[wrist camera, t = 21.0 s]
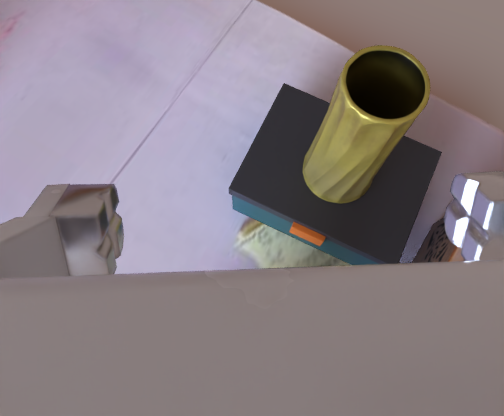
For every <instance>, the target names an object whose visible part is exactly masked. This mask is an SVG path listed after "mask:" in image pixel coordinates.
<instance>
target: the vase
mask: <svg viewBox="0 0 504 416" xmlns="http://www.w3.org/2000/svg"><path fill="white" fill-rule="evenodd" d="M429 95H430V79H429V76H428V74H427V71H426V70H425V68H424V66H423V65H422V64H421V63H420V61H418V60H417V59H416V58H415V57H414V56H413V55H412V54H410V53H409V52H407V51H405V50H403V49H400V48H397V47H392V46H382V45H378V46H371V47H367V48H364V49H361V50H359V51H358V52H357V53H355V54H354V55H353V56H352V57H351V58H350V59H349V60H348V61H347V63H346V64H345V66H344V68H343V71H342V72H341V74H340V76H339V79H338V82H337V85H336V88H335V91H334V94H333V97H332V100H331V103H330V105H329V108H328V111H327V113H326V115H325V117H324V120H323V122H322V124H321V126H320V128H319V130H318V132H317V134H316V136H315V138H314V140H313V142H312V144H311V146H310V148H309V150H308V152H307V153H306V155H305V158H304V163H303V176H304V179H305V182H306V184H307V186H308V187H309V188H310V190H311V191H312V192H313V193H314V194H315V195H317V196H318V197H319V198H321V199H323V200H325V201H328V202H333V203H340V204H341V203H348V202H352V201H354V200H357V199H359V198H360V197H361V196H363V195H364V194H365V193H366V191H367V190H368V189H369V187H370V185H371V183H372V180H373V178H374V176H375V175H376V174H377V172H378V171H379V169H380V168H381V166H382V165H383V163H384V162H385V160H386V159H387V157H388V156H389V155H390V153H391V152H392V150H393V149H394V147H395V146H396V145H397V144H398V142H399V141H400V140H401V138H402V137H403V136H404V134H405V133H406V132H407V130H408V129H409V128H410V127H411V125H412V124H413V122H414V121H415V119H416V118H417V116H418V115H419V114H420V113H421V112H422V110H423V109H424V108H425V106H426V105H427V102H428V99H429Z"/></svg>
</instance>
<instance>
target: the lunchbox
mask: <svg viewBox="0 0 504 416" xmlns="http://www.w3.org/2000/svg"><path fill="white" fill-rule="evenodd" d="M329 105H330V103H328V102H326V101H324V100H321V99H319V98H317V97H314V96H312V95H310V94H308V93H305V92H303V91H301V90H298V89H296V88H294V87H291V86H289V85H287V84H285V83H284V84H283V86H282V88H281V90H280V92H279V93H278V95H277V97H276V99H275V101H274V103H273V105H272V107H271V109H270V111H269V113H268V114H267V116H266V118H265V120H264V122H263V124H262V126H261V128H260V130H259V132H258V134H257V135H256V137H255V139H254V141H253V143H252V145H251V147H250V149H249V151H248V153H247V155H246V156H245V158H244V160H243V162H242V164H241V166H240V168H239V170H238V172H237V174H236V176H235V177H234V179H233V181H232V183H231V185H230V187H229V194H231V195H232V200H233V209H234V210H236V211H238V212H240V213H243V214H245V215H247V216H249V217H251V218H253V219H255V220H257V221H260V222H262V223H264V224H266V225H268V226H270V227H272V228H274V229H277V230H279V231H281V232H283V233H285V234H287V235H289V236H291V237H293V238H296V239H298V240H300V241H302V242H304V243H306V244H308V245H310V246H313V247H315V248H317V249H319V250H321V251H323V252H325V253H327V254H330V255H332V256H334V257H336V258H338V259H340V260H342V261H344V262H347V263H349V264H351V265H373V264H398V262H399V260H400V257H401V255H402V252H403V250H404V247H405V244H406V242H407V239H408V237H409V234H410V232H411V229H412V227H413V224H414V222H415V219H416V217H417V214H418V211H419V209H420V206H421V204H422V201H423V199H424V196H425V194H426V191H427V189H428V186H429V184H430V181H431V178H432V176H433V173H434V171H435V168H436V166H437V163H438V161H439V158H440V156H441V153H442V152H440V151H438V150H436V149H433V148H431V147H429V146H427V145H424V144H422V143H420V142H417V141H415V140H413V139H410V138H408V137H406V136H403V137H402V138H401V140H400V141H399V142H398V144H397V145H396V146H395V147H394V149H393V150H392V152H391V153H390V155H389V156H388V157H387V159H386V160H385V162H384V163H383V165H382V166H381V168H380V169H379V171H378V172H377V174H376V175H375V176H374V178H373V180H372V183H371V185H370V187H369V189H368V190H367V191H366V193H365V194H364V195H363V196H361V197H360V198H359V199H357V200H354V201H352V202H348V203H341V204H340V203H333V202H328V201H325V200H323V199H321V198H319V197H318V196H317V195H315V194H314V193H313V192H312V191H311V190H310V188H309V187H308V186H307V184H306V182H305V179H304V176H303V163H304V158H305V155H306V153H307V152H308V150H309V148H310V146H311V144H312V142H313V140H314V138H315V136H316V134H317V132H318V130H319V128H320V126H321V124H322V122H323V120H324V117H325V115H326V113H327V111H328V108H329Z"/></svg>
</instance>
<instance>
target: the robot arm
mask: <svg viewBox="0 0 504 416" xmlns="http://www.w3.org/2000/svg"><path fill="white" fill-rule="evenodd" d="M450 192H451V194H452V196H453V197H454V200H453V201H452V202H451V203H450V204H449V205H448V206H447V207H446V212H445V218H444V223H445V231H446V234H447V237H448V239H449V240H450V241H451V243H452V244H454V245H456V246H458V247H460V248H462V250H461V254H460V255H461V256H462V257H463V258H464V260H465V261H454V262H427V263H400V264H373V265H346V266H320V267H293V268H266V269H239V270H212V271H185V272H159V273H132V274H115V271H116V268H117V266H116V260H115V259H116V258H118V257H119V256H121V252H122V249H123V240H124V233H123V223H122V218H121V217H120V216H119V215H118V214H117V213H116V212H115V211H116V208H117V206H118V203H119V199H118V194H117V189H116V187H115V185H114V184H72V185H70V184H58V185H47V186H46V187H45V188H44V190H43V191H42V192H41V194H40V195H39V196H38V198H37V199H36V200H35V202H34V203H33V204H32V206H31V207H30V208H29V210H28V211H27V212H26V214H25V215H24V216H23V217H16V218H13V219H11V220H9V221H7V222H5V223H2V224H0V416H504V172H501V171H496V172H477V173H461V174H458V175H456V176H455V177H454V179H453V181H452V185H451V189H450Z"/></svg>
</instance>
